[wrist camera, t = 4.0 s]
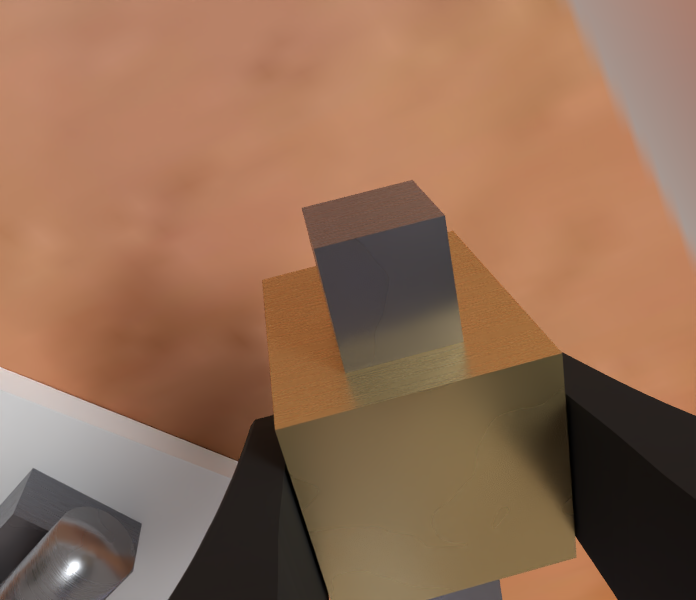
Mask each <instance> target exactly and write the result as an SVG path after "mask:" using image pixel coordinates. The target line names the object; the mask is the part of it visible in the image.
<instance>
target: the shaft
mask: <svg viewBox="0 0 696 600" xmlns="http://www.w3.org/2000/svg"><path fill="white" fill-rule="evenodd" d="M141 526H142V524H141V523H140V522H138V521H136V520H134V519H132V518H130V517H128V516H126V515H124V514H122V513H120V512H118V511H116V510H114V509H112V508H110V507H108V506H106V505H104V504H103V503H101V502H99V501H97V500H95V499H93V498H91V497H89V496H87V495H85V494H83V493H81V492H79V491H77V490H75V489H73V488H71V487H69V486H67V485H65V484H64V483H62V482H60V481H58V480H56V479H54V478H52V477H50V476H48V475H46V474H44V473H42V472H40V471H38V470H36V469H34V468H32V470H31V471H30V472H29V473H28V474H27V475H26V476H25V478H24V479H23V480H22V481H21V482H20V483H19V484H18V486H17V487H16V488H15V489H14V490H13V491H12V492H11V494H10V495H9V496H8V497H7V498H6V499H5V500H4V501H3V503H2V504H1V505H0V600H105V599H106V598H107V597H108V596H109V595H110V594H111V593H112V592H113V591H114V590H115V589H116V588H117V587H118V586H119V585H120V584H121V583H122V582H123V581H124V580H125V579H126V578H127V577H128V576H129V575H130V574H131V573H132V572H133V569H134V564H135V558H136V553H137V547H138V542H139V537H140V531H141Z"/></svg>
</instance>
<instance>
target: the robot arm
mask: <svg viewBox="0 0 696 600" xmlns="http://www.w3.org/2000/svg"><path fill="white" fill-rule="evenodd" d="M562 356H563V370H564V385H565V399H566V414H567V428H568V443H569V457H570V472H571V486H572V501H573V515H574V529H575V536H576V538H577V539H578V541H579V542H580V544H581V545H582V547H583V548H584V550H585V551H586V553H587V554H588V556H589V557H590V559H591V560H592V562H593V563H594V565H595V566H596V568H597V569H598V570H599V572H600V573H601V575H602V576H603V578H604V579H605V581H606V582H607V584H608V585H609V587H610V588H611V590H612V591H613V593H614V594H615V596H616V598H617V599H618V600H696V416H695V415H692V414H690V413H688V412H685V411H683V410H680V409H678V408H676V407H673V406H671V405H668V404H666V403H664V402H662V401H659V400H657V399H655V398H653V397H651V396H648V395H646V394H644V393H642V392H640V391H638V390H636V389H633V388H631V387H629V386H627V385H625V384H623V383H621V382H619V381H617V380H615V379H613V378H611V377H609V376H607V375H605V374H603V373H601V372H599V371H597V370H595V369H593V368H591V367H590V366H588V365H586V364H584V363H582V362H580V361H578V360H576V359H574V358H572V357H570V356H568V355H566V354H565V353H563V352H562ZM168 600H329V593H328V590H327V587H326V584H325V581H324V578H323V575H322V572H321V569H320V566H319V562H318V559H317V556H316V553H315V550H314V547H313V544H312V541H311V538H310V535H309V532H308V529H307V526H306V523H305V520H304V517H303V514H302V511H301V508H300V505H299V502H298V499H297V496H296V492H295V489H294V486H293V483H292V480H291V477H290V474H289V471H288V468H287V465H286V462H285V459H284V456H283V453H282V450H281V447H280V444H279V441H278V438H277V435H276V432H275V424H274V415H272V416H268V417H264V418H260V419H256V420H255V421H254V422H253V424H252V425H251V427H250V430H249V433H248V436H247V439H246V442H245V445H244V448H243V451H242V453H241V456H240V459H239V461H238V464H237V466H236V469H235V471H234V474H233V476H232V479H231V481H230V483H229V486H228V488H227V490H226V492H225V495H224V497H223V499H222V502H221V504H220V506H219V508H218V510H217V512H216V515H215V517H214V519H213V521H212V522H211V524H210V526H209V528H208V530H207V532H206V534H205V536H204V538H203V540H202V542H201V544H200V546H199V548H198V550H197V552H196V553H195V555H194V557H193V559H192V561H191V562H190V564H189V566H188V568H187V569H186V571H185V573H184V574H183V576H182V578H181V579H180V581H179V583H178V584H177V586H176V588H175V589H174V591H173V592H172V594H171V595H170V597H169V599H168Z"/></svg>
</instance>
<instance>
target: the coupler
mask: <svg viewBox="0 0 696 600" xmlns="http://www.w3.org/2000/svg"><path fill="white" fill-rule="evenodd" d="M302 211H303V215H304V219H305V223H306V227H307V231H308V235H309V239H310V243H311V247H312V251H313V254H314V258H315V262H316V266H315V267H311V268H307V269H303V270H299V271H295V272H291V273H287V274H284V275H280V276H276V277H272V278H268V279H264V280H262V284H263V295H264V307H265V319H266V330H267V342H268V354H269V366H270V377H271V389H272V401H273V412H274V424H275V432H276V435H277V438H278V441H279V444H280V447H281V450H282V453H283V456H284V459H285V462H286V465H287V468H288V471H289V474H290V477H291V480H292V483H293V486H294V489H295V492H296V496H297V499H298V502H299V505H300V508H301V511H302V514H303V517H304V520H305V523H306V526H307V529H308V532H309V535H310V538H311V541H312V544H313V547H314V550H315V553H316V556H317V559H318V562H319V566H320V569H321V572H322V575H323V578H324V581H325V584H326V587H327V590H328V593H329V596H330V599H331V600H502V594H501V588H500V581H499V579H502V578H506V577H509V576H513V575H516V574H520V573H523V572H527V571H531V570H534V569H538V568H541V567H545V566H548V565H552V564H555V563H559V562H562V561H566V560H569V559H573V558H576V544H575V529H574V515H573V501H572V486H571V472H570V457H569V443H568V428H567V414H566V399H565V385H564V370H563V356H562V352H561V351H560V350H559V349H558V348H557V347H556V346H555V344H554V343H553V342H552V341H551V340H550V339H549V338H548V337H547V335H546V334H545V333H544V332H543V331H542V330H541V329H540V328H539V327H538V325H537V324H536V323H535V322H534V321H533V320H532V319H531V318H530V316H529V315H528V314H527V313H526V312H525V311H524V310H523V309H522V307H521V306H520V305H519V304H518V303H517V302H516V301H515V300H514V299H513V297H512V296H511V295H510V294H509V293H508V292H507V291H506V290H505V288H504V287H503V286H502V285H501V284H500V283H499V282H498V281H497V280H496V278H495V277H494V276H493V275H492V274H491V273H490V272H489V271H488V269H487V268H486V267H485V266H484V265H483V264H482V263H481V262H480V260H479V259H478V258H477V257H476V256H475V255H474V254H473V253H472V252H471V250H470V249H469V248H468V247H467V246H466V245H465V244H464V243H463V241H462V240H461V239H460V238H459V237H458V236H457V235H456V234H455V233H454V231H451V232H447V227H446V220H445V215H444V214H443V213H442V212H441V211H440V210H439V209H438V207H437V206H436V205H435V204H434V203H433V202H432V201H431V200H430V199H429V198H428V197H427V195H426V194H425V193H424V192H423V191H422V190H421V189H420V188H419V187H418V186H417V185H416V183H415V182H414V181H413V180H411V181H407V182H403V183H399V184H395V185H391V186H387V187H383V188H379V189H375V190H371V191H367V192H363V193H359V194H355V195H351V196H347V197H344V198H340V199H336V200H332V201H328V202H324V203H320V204H316V205H312V206H308V207H304V208H302Z"/></svg>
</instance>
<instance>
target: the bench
mask: <svg viewBox="0 0 696 600" xmlns="http://www.w3.org/2000/svg"><path fill="white" fill-rule="evenodd" d="M237 464H238V461H235V460H233V459H230V458H228V457H225V456H223V455H220V454H218V453H215V452H213V451H210V450H208V449H205V448H203V447H200V446H198V445H195V444H193V443H190V442H188V441H185V440H183V439H180V438H177V437H175V436H172V435H170V434H167V433H165V432H162V431H160V430H157V429H155V428H152V427H150V426H147V425H145V424H142V423H140V422H137V421H135V420H132V419H130V418H127V417H125V416H122V415H120V414H117V413H115V412H112V411H109V410H107V409H104V408H102V407H99V406H97V405H94V404H92V403H89V402H87V401H84V400H82V399H79V398H77V397H74V396H72V395H69V394H67V393H64V392H62V391H59V390H57V389H54V388H52V387H49V386H47V385H44V384H41V383H39V382H36V381H34V380H31V379H29V378H26V377H24V376H21V375H19V374H16V373H14V372H11V371H9V370H6V369H4V368H1V367H0V505H1V504H2V503H3V501H4V500H5V499H6V498H7V497H8V496H9V495H10V494H11V492H12V491H13V490H14V489H15V488H16V487H17V486H18V484H19V483H20V482H21V481H22V480H23V479H24V478H25V476H26V475H27V474H28V473H29V472H30V471H31V470H32V468H34V469H36V470H38V471H40V472H42V473H44V474H46V475H48V476H50V477H52V478H54V479H56V480H58V481H60V482H62V483H64V484H65V485H67V486H69V487H71V488H73V489H75V490H77V491H79V492H81V493H83V494H85V495H87V496H89V497H91V498H93V499H95V500H97V501H99V502H101V503H103V504H104V505H106V506H108V507H110V508H112V509H114V510H116V511H118V512H120V513H122V514H124V515H126V516H128V517H130V518H132V519H134V520H136V521H138V522H140V523H141V524H142V526H141V531H140V537H139V542H138V547H137V553H136V558H135V564H134V569H133V572H132V573H131V574H130V575H129V576H128V577H127V578H126V579H125V580H124V581H123V582H122V583H121V584H120V585H119V586H118V587H117V588H116V589H115V590H114V591H113V592H112V593H111V594H110V595H109V596H108V597H107V598H106V599H105V600H168V599H169V597H170V595H171V594H172V592H173V591H174V589H175V588H176V586H177V584H178V583H179V581H180V579H181V578H182V576H183V574H184V573H185V571H186V569H187V568H188V566H189V564H190V562H191V561H192V559H193V557H194V555H195V553H196V552H197V550H198V548H199V546H200V544H201V542H202V540H203V538H204V536H205V534H206V532H207V530H208V528H209V526H210V524H211V522H212V521H213V519H214V517H215V515H216V512H217V510H218V508H219V506H220V504H221V502H222V499H223V497H224V495H225V492H226V490H227V488H228V486H229V483H230V481H231V479H232V476H233V474H234V471H235V469H236V466H237Z"/></svg>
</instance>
